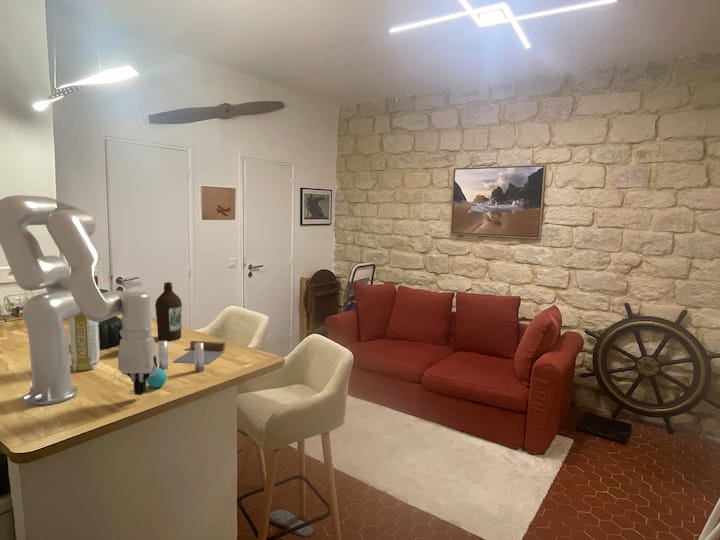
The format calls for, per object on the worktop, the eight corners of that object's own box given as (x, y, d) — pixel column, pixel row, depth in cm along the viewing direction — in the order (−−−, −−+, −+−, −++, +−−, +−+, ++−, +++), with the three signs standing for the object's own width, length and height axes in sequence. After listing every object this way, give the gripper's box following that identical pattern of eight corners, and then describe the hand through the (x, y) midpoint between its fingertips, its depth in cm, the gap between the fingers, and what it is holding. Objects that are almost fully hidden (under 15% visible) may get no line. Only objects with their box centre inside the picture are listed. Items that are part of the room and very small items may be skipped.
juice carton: (76, 363, 162) (73, 299, 159) (101, 361, 165) (98, 298, 162) (70, 372, 154) (66, 304, 151) (96, 370, 157) (93, 303, 153)
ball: (160, 391, 140) (160, 372, 139) (142, 389, 141) (142, 371, 140) (170, 383, 146) (170, 366, 145) (153, 382, 147) (152, 365, 146)
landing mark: (208, 364, 166) (208, 363, 165) (172, 362, 167) (172, 361, 167) (223, 352, 179) (223, 352, 179) (190, 350, 181) (190, 350, 181)
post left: (165, 370, 158) (164, 343, 157) (157, 369, 159) (156, 342, 157) (169, 367, 161) (168, 340, 160) (161, 366, 162) (160, 340, 160)
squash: (137, 332, 186) (120, 303, 189) (101, 342, 173) (84, 310, 176) (123, 349, 193) (108, 321, 196) (88, 360, 180) (72, 329, 183)
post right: (201, 372, 157) (201, 345, 156) (193, 372, 157) (192, 344, 156) (205, 369, 160) (204, 342, 159) (197, 369, 160) (196, 342, 159)
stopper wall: (223, 351, 181) (223, 343, 181) (190, 349, 183) (190, 342, 182) (225, 349, 183) (225, 342, 183) (192, 347, 185) (192, 340, 184)
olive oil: (151, 339, 194) (148, 283, 191) (170, 333, 204) (168, 280, 201) (169, 343, 190) (167, 285, 187) (187, 337, 200) (186, 282, 197)
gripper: (105, 336, 128) (108, 397, 131) (154, 338, 127) (157, 399, 129) (121, 329, 136) (124, 387, 138) (168, 331, 134) (170, 389, 137)
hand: (140, 393), depth 134 cm, fingers closed
